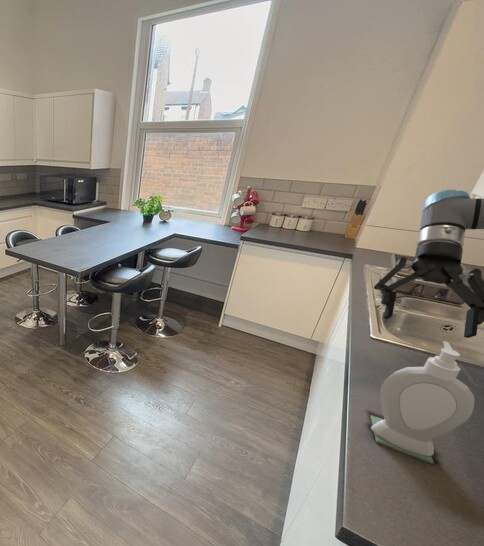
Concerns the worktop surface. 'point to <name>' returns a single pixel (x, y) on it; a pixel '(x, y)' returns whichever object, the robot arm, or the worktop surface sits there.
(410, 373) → the soap bottle
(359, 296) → the worktop surface
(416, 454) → the mat
